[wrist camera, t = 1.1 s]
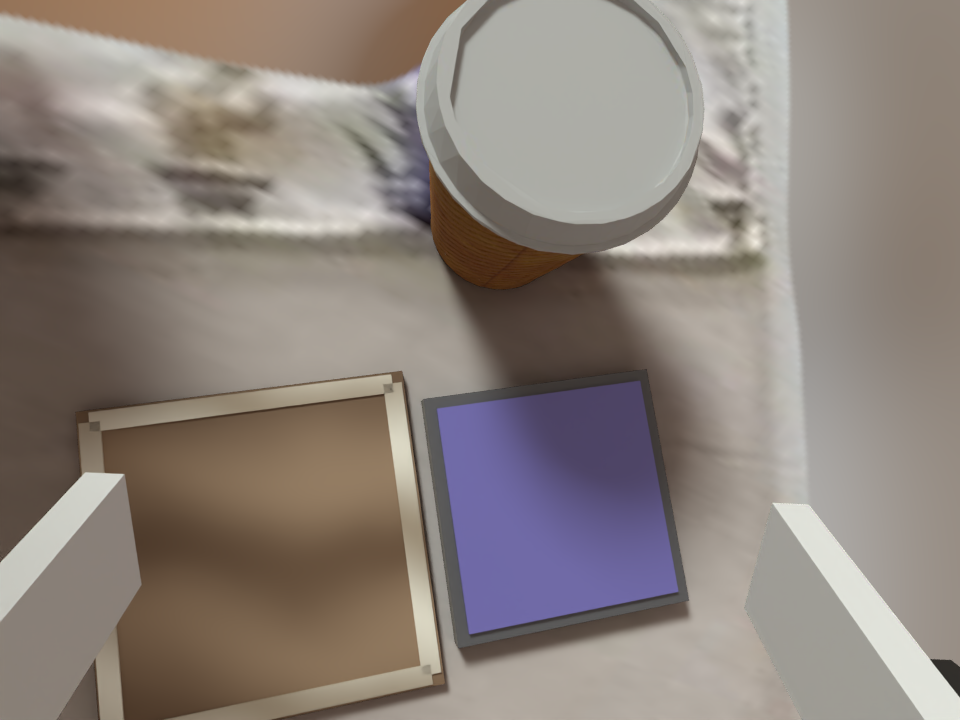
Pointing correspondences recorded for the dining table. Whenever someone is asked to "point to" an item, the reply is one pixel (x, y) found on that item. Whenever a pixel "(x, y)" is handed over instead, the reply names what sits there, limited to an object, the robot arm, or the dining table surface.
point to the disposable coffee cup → (553, 131)
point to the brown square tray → (267, 552)
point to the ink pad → (551, 505)
